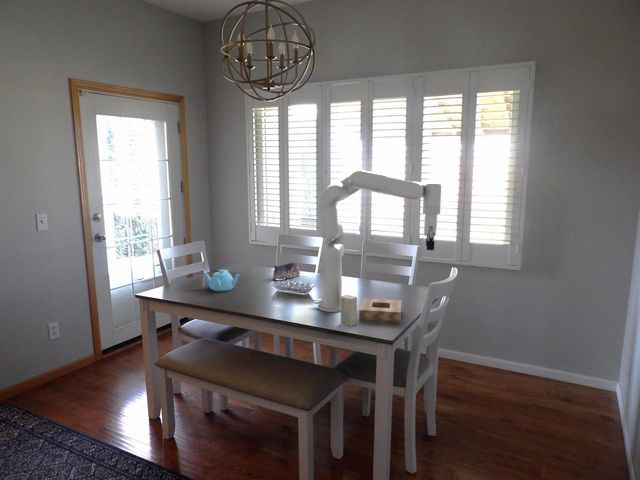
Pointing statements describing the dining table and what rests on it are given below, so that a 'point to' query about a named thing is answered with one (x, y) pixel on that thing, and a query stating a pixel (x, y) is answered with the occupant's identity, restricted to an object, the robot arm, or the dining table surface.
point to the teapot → (221, 281)
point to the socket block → (380, 310)
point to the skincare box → (348, 310)
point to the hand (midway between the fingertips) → (429, 248)
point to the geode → (286, 271)
